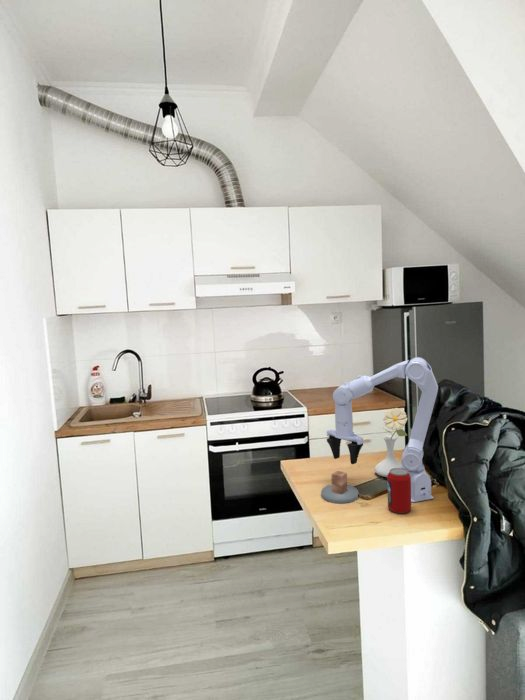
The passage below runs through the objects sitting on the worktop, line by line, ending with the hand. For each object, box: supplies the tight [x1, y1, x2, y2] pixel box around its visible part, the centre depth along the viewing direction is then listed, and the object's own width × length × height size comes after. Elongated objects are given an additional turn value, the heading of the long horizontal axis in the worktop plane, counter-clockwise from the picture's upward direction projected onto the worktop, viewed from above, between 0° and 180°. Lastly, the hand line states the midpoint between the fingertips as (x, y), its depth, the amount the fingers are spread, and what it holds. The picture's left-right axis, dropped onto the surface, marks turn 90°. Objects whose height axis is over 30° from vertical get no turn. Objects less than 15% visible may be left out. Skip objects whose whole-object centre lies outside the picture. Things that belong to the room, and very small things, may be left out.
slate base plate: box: [320, 484, 360, 504], centre depth 155 cm, size 12×12×2 cm
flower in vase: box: [374, 407, 408, 478], centre depth 170 cm, size 13×11×25 cm
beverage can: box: [386, 468, 412, 514], centre depth 143 cm, size 7×7×12 cm
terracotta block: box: [331, 470, 348, 494], centre depth 155 cm, size 4×4×6 cm
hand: (345, 460), depth 161 cm, fingers open, 7 cm apart
